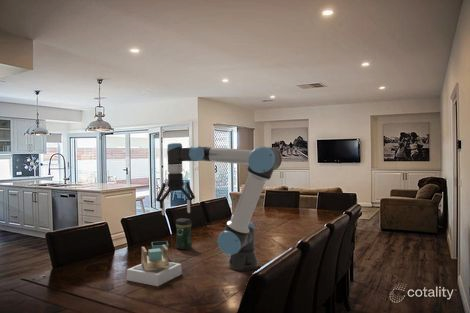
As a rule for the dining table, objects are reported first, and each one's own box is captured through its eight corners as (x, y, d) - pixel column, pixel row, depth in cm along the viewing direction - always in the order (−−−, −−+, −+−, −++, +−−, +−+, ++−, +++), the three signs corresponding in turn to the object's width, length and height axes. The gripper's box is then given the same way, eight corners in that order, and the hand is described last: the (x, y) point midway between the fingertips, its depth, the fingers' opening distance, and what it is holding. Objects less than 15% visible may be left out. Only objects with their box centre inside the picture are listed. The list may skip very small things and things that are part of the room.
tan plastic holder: (164, 261, 177) (163, 244, 178) (169, 268, 166) (168, 249, 166) (141, 263, 173) (141, 246, 173) (144, 271, 162) (144, 252, 162)
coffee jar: (193, 247, 225) (193, 218, 225) (185, 250, 218) (185, 220, 218) (182, 245, 230) (181, 216, 230) (173, 248, 223) (173, 218, 223)
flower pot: (152, 262, 194) (152, 245, 194) (151, 257, 203) (151, 241, 203) (168, 260, 197) (168, 244, 197) (167, 256, 205) (167, 240, 205)
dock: (181, 274, 174) (181, 263, 174) (157, 286, 158) (157, 274, 158) (152, 269, 182) (152, 258, 182) (126, 280, 166) (126, 268, 166)
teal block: (159, 256, 173) (159, 248, 173) (161, 259, 168) (161, 251, 168) (148, 257, 171) (148, 249, 171) (150, 260, 166) (149, 252, 166)
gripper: (195, 171, 194) (196, 210, 194) (149, 173, 184) (150, 214, 183) (200, 172, 188) (201, 212, 187) (152, 174, 177) (153, 216, 177)
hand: (176, 213), depth 185 cm, fingers open, 13 cm apart
